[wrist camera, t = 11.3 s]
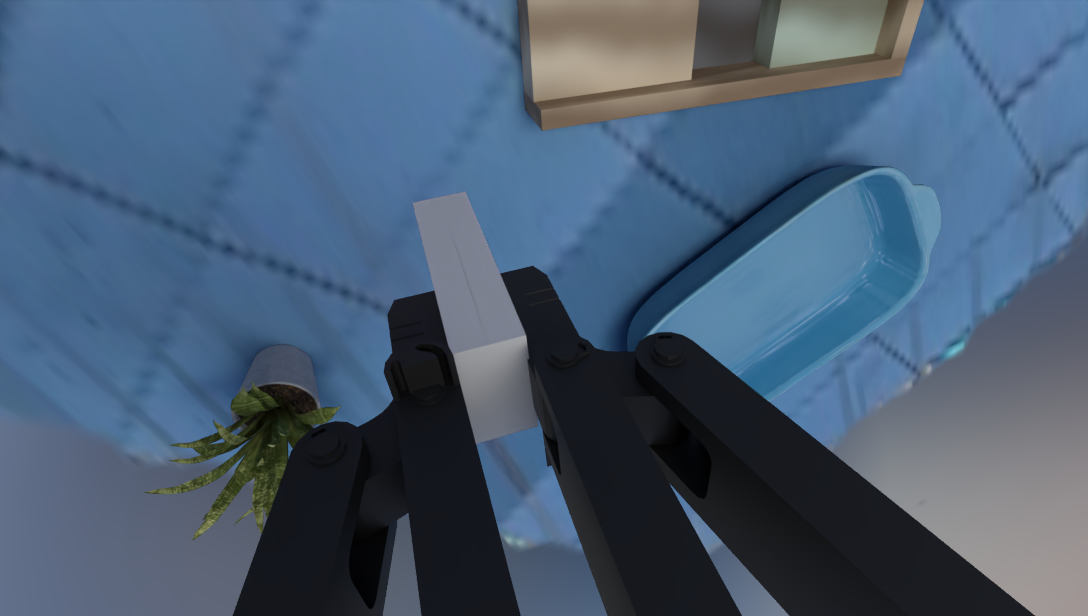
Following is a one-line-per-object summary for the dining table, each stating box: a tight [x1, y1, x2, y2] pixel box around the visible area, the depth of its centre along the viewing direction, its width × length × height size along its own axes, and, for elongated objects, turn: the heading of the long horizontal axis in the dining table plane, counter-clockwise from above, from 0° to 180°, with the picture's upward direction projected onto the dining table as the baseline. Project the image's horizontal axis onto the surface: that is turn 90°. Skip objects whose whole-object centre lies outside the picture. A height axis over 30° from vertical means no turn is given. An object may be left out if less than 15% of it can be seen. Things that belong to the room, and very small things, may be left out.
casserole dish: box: [627, 165, 941, 402], centre depth 63 cm, size 37×22×7 cm, turn 127°
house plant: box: [146, 345, 342, 540], centre depth 47 cm, size 14×14×16 cm
